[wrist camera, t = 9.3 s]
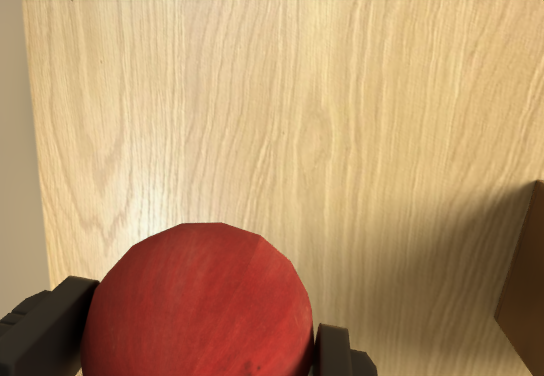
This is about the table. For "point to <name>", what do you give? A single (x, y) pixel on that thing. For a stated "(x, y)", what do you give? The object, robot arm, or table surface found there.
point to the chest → (526, 289)
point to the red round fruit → (199, 309)
